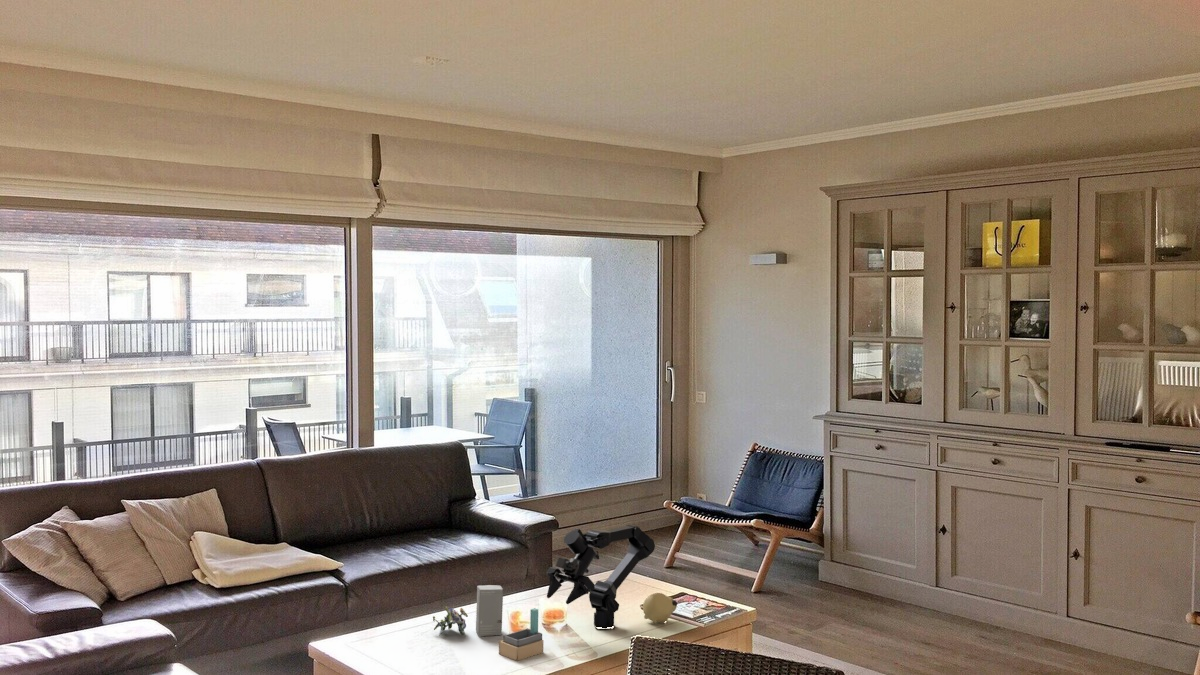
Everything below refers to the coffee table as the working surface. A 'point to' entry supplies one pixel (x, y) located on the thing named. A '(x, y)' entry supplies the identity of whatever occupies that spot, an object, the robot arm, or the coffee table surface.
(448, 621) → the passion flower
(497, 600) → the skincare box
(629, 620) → the coffee table surface
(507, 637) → the grey box with post
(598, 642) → the coffee table surface
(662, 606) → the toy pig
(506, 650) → the tan open box
